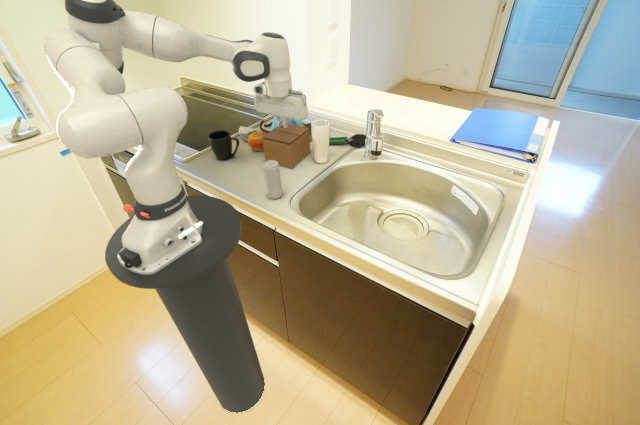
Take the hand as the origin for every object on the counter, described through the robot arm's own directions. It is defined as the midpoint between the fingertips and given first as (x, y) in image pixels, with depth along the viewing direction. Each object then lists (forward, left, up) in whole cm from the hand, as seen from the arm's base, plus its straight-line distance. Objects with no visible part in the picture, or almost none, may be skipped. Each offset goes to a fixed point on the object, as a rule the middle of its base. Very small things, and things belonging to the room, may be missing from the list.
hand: (282, 127), depth 114 cm
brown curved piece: (+21, +26, -11) cm, 36 cm away
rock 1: (+4, +24, -12) cm, 27 cm away
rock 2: (+25, -20, -10) cm, 33 cm away
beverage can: (-22, -10, -13) cm, 27 cm away
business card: (+18, -12, -12) cm, 25 cm away
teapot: (+18, +12, -13) cm, 25 cm away
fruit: (+3, +14, -13) cm, 20 cm away
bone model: (+24, +4, -14) cm, 28 cm away
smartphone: (+22, -4, -13) cm, 26 cm away
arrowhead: (+10, +25, -12) cm, 29 cm away
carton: (+2, 0, -13) cm, 13 cm away
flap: (-1, 0, -3) cm, 4 cm away
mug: (-9, +21, -13) cm, 27 cm away
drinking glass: (+5, -13, -13) cm, 19 cm away
